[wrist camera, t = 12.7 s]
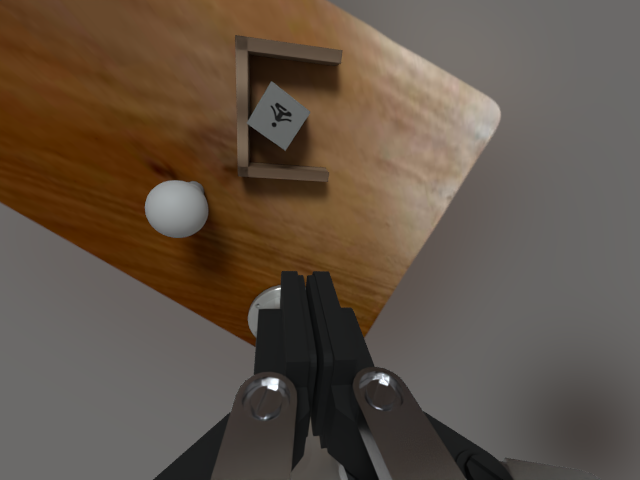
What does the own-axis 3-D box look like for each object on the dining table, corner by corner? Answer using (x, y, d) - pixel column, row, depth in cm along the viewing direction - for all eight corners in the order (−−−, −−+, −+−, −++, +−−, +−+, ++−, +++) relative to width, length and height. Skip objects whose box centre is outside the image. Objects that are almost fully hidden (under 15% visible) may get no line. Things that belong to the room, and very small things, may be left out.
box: (324, 176, 40) (327, 181, 38) (240, 170, 38) (238, 176, 36) (337, 54, 34) (342, 50, 32) (238, 40, 32) (235, 35, 30)
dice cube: (306, 110, 36) (310, 112, 32) (283, 144, 38) (285, 150, 33) (271, 83, 35) (271, 80, 30) (249, 120, 36) (246, 123, 32)
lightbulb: (183, 156, 37) (150, 176, 27) (228, 182, 39) (212, 210, 29) (162, 195, 38) (124, 228, 28) (206, 219, 40) (185, 257, 31)
